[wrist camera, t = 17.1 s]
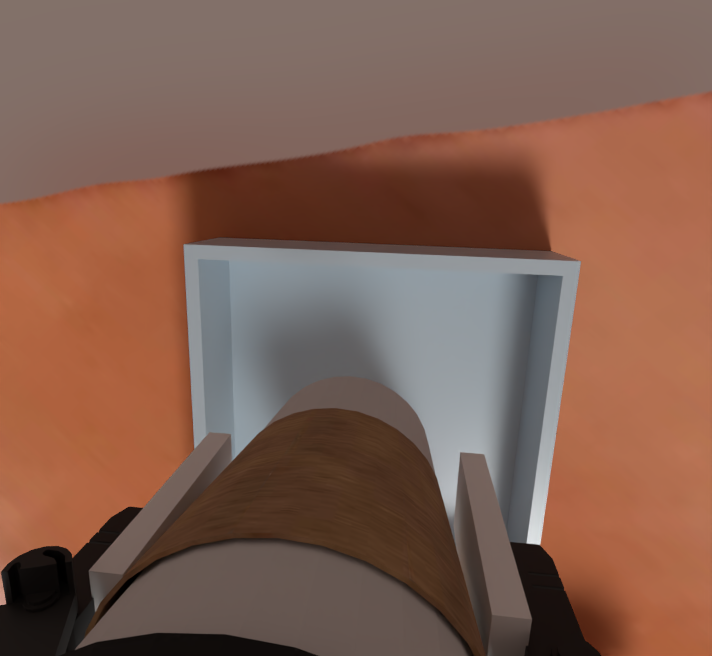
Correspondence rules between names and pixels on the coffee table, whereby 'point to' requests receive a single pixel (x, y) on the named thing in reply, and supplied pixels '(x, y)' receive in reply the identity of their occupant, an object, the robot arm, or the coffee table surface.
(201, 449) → the robot arm
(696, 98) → the coffee table surface
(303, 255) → the tote
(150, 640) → the coffee cup
